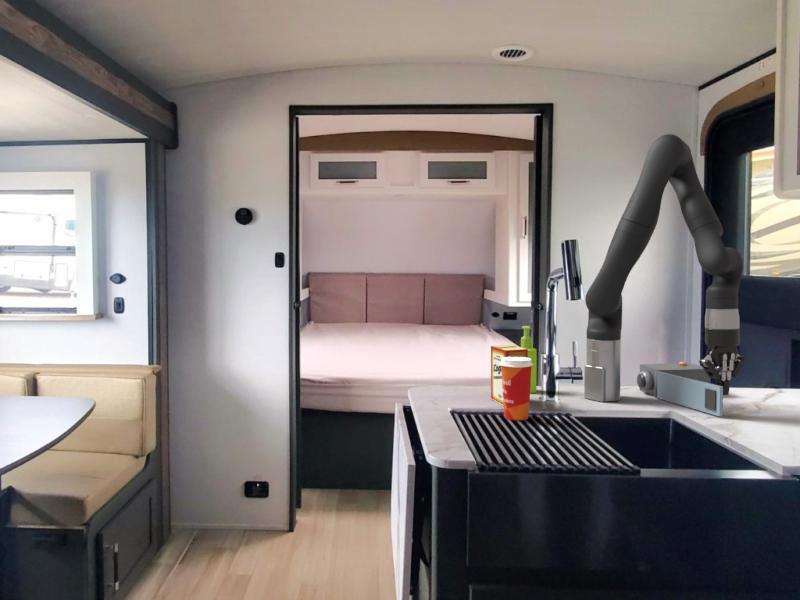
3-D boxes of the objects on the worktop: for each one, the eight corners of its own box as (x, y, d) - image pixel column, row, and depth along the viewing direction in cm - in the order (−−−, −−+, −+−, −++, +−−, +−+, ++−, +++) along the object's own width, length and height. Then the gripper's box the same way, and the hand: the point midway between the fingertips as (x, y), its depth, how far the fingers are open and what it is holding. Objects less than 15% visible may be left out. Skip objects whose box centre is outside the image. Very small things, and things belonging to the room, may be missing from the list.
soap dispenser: (534, 388, 171) (534, 325, 170) (537, 393, 164) (537, 327, 163) (515, 388, 172) (515, 325, 171) (518, 393, 165) (517, 327, 164)
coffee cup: (499, 412, 143) (499, 355, 142) (531, 413, 142) (531, 356, 141) (499, 421, 135) (499, 361, 134) (534, 422, 134) (534, 361, 133)
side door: (718, 416, 135) (718, 387, 135) (653, 396, 157) (653, 371, 156) (723, 415, 136) (723, 386, 135) (657, 396, 157) (657, 370, 157)
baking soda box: (527, 405, 150) (527, 347, 149) (506, 407, 148) (506, 349, 148) (511, 398, 159) (511, 343, 158) (491, 399, 158) (490, 344, 157)
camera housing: (710, 395, 159) (710, 365, 158) (649, 398, 157) (649, 367, 157) (689, 388, 169) (689, 360, 168) (631, 390, 167) (632, 362, 167)
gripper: (729, 323, 143) (729, 389, 144) (689, 326, 139) (689, 394, 140) (755, 326, 136) (756, 395, 137) (714, 329, 132) (714, 400, 133)
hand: (722, 394), depth 138 cm, fingers closed
